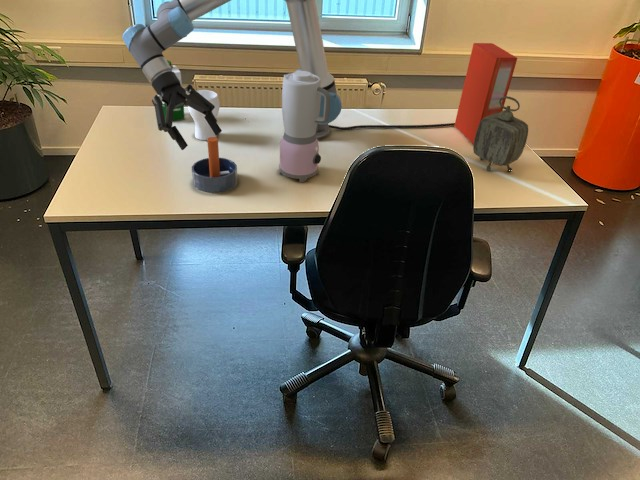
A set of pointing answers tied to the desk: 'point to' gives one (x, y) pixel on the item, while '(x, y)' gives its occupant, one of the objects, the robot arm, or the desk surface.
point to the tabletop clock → (501, 137)
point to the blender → (301, 124)
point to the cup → (202, 126)
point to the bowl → (214, 183)
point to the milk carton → (178, 111)
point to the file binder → (484, 86)
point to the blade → (214, 158)
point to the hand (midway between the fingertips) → (202, 140)
